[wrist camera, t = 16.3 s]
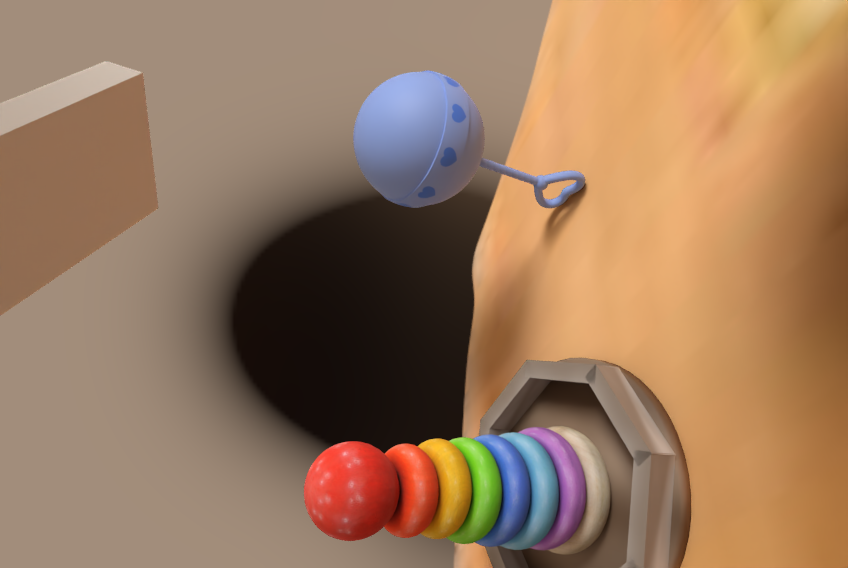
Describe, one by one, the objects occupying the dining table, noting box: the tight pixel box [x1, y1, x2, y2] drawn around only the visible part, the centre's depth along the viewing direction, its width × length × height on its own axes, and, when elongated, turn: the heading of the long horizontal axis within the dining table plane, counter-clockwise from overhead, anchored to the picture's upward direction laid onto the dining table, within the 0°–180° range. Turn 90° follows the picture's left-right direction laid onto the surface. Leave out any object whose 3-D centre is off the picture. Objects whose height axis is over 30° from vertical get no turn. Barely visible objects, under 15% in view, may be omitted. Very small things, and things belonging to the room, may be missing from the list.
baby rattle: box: [354, 71, 585, 208], centre depth 47 cm, size 9×9×18 cm
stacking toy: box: [304, 426, 610, 555], centre depth 40 cm, size 8×8×19 cm
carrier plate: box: [479, 358, 691, 568], centre depth 45 cm, size 17×17×3 cm
